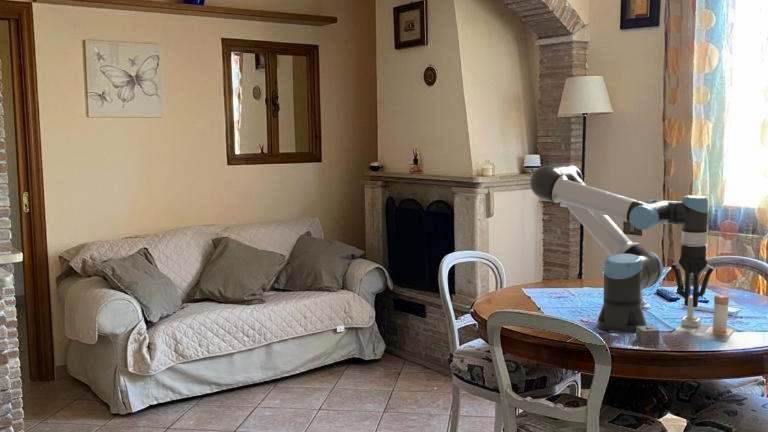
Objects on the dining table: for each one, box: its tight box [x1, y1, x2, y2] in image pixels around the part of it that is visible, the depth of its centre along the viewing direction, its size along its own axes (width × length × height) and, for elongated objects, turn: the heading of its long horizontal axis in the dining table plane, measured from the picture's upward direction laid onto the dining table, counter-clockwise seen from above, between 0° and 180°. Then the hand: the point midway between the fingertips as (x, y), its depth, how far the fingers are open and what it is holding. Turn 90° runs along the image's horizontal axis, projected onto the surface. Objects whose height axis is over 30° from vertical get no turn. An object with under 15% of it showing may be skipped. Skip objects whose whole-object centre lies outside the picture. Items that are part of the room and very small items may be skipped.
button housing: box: [680, 315, 701, 328], centre depth 245 cm, size 5×5×2 cm
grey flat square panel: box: [670, 323, 737, 344], centre depth 238 cm, size 16×17×1 cm
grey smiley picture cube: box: [635, 325, 660, 345], centre depth 229 cm, size 5×5×5 cm
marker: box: [712, 294, 730, 333], centre depth 238 cm, size 4×4×11 cm
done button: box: [686, 316, 697, 321], centre depth 245 cm, size 3×3×2 cm
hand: (690, 316), depth 245 cm, fingers closed
